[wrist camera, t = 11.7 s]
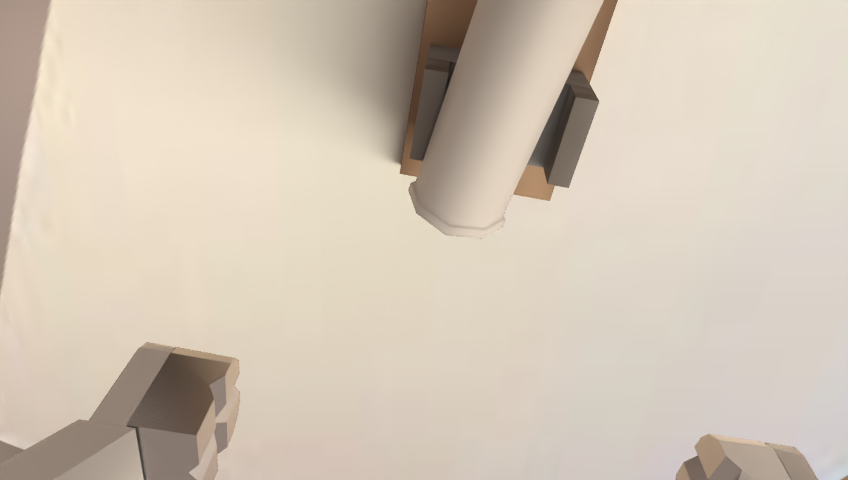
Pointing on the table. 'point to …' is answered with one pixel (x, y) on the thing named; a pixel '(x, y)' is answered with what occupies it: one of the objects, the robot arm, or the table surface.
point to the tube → (497, 109)
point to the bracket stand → (566, 122)
